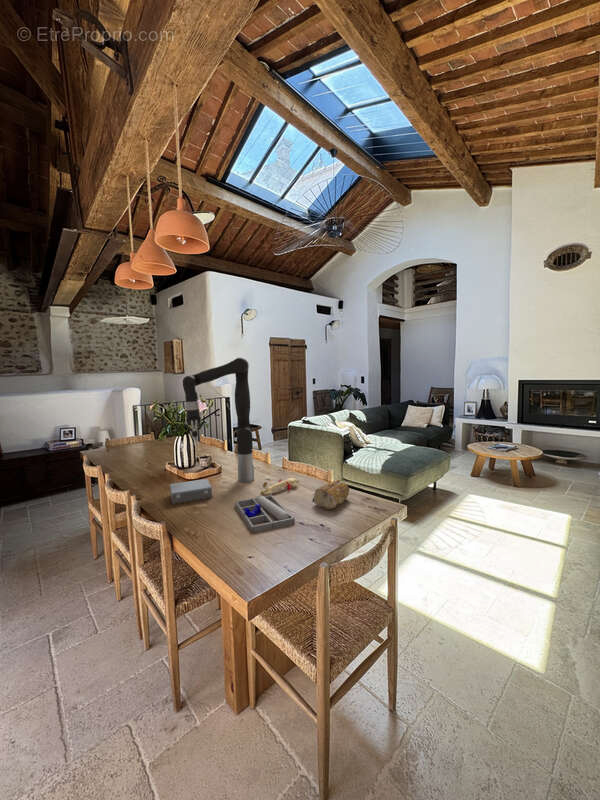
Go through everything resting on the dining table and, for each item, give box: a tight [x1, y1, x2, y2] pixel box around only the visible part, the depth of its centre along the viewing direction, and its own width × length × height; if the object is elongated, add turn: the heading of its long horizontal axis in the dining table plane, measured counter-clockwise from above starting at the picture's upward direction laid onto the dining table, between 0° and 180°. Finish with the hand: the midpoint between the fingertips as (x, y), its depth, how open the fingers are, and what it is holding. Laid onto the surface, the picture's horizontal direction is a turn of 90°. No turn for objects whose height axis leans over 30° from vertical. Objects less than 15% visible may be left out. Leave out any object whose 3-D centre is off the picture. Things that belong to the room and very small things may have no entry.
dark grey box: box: [169, 486, 213, 505], centre depth 187 cm, size 20×15×5 cm
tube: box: [256, 495, 290, 521], centre depth 164 cm, size 5×5×25 cm
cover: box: [169, 478, 213, 495], centre depth 186 cm, size 20×15×1 cm
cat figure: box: [260, 477, 299, 496], centre depth 194 cm, size 10×9×25 cm
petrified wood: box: [311, 479, 350, 510], centre depth 175 cm, size 19×13×10 cm
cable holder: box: [244, 504, 262, 518], centre depth 161 cm, size 8×4×4 cm, turn 134°
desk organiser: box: [234, 494, 296, 533], centre depth 163 cm, size 19×31×2 cm, turn 24°
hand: (195, 437), depth 208 cm, fingers closed
